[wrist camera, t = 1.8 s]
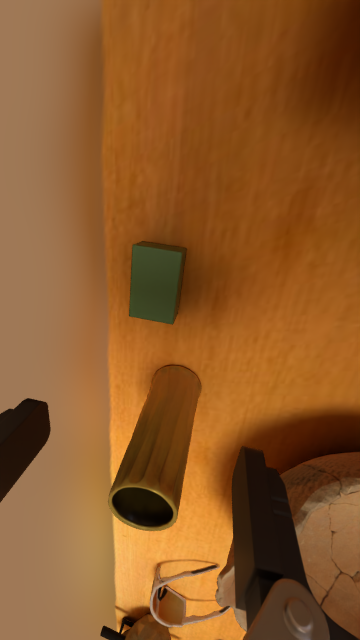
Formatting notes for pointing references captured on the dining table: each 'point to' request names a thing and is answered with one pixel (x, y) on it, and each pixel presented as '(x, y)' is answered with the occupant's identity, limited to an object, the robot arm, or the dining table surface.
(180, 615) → the sunglasses
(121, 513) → the vase
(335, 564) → the ceramic bowl
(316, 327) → the dining table surface
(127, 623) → the figurine
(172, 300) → the block
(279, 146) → the dining table surface
